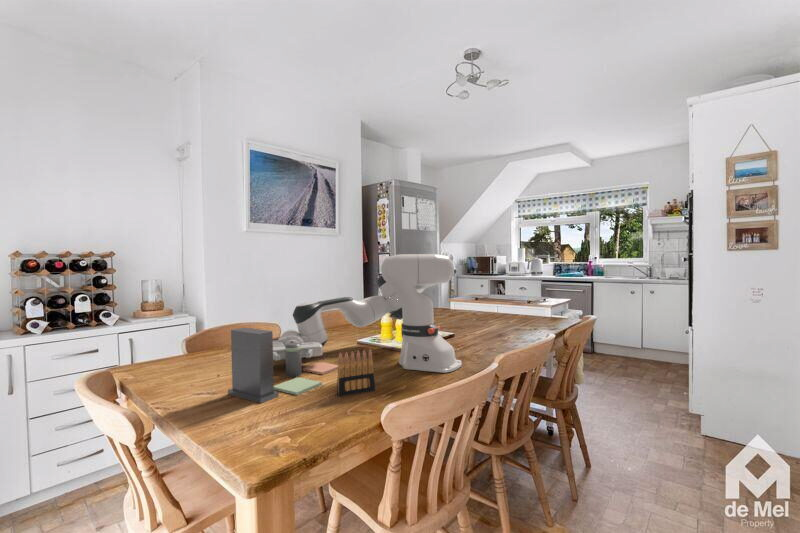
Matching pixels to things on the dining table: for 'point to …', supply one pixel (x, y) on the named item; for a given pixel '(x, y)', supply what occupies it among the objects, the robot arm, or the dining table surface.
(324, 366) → the terracotta pad
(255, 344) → the block
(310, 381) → the sage green pad
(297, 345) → the cartridge
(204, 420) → the dining table surface
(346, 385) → the ammunition clip
